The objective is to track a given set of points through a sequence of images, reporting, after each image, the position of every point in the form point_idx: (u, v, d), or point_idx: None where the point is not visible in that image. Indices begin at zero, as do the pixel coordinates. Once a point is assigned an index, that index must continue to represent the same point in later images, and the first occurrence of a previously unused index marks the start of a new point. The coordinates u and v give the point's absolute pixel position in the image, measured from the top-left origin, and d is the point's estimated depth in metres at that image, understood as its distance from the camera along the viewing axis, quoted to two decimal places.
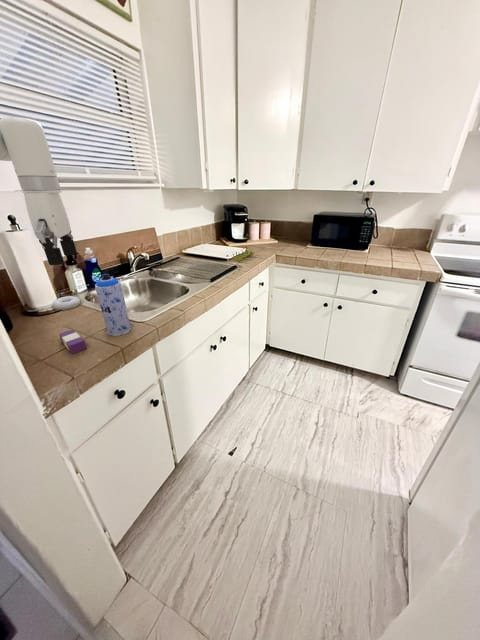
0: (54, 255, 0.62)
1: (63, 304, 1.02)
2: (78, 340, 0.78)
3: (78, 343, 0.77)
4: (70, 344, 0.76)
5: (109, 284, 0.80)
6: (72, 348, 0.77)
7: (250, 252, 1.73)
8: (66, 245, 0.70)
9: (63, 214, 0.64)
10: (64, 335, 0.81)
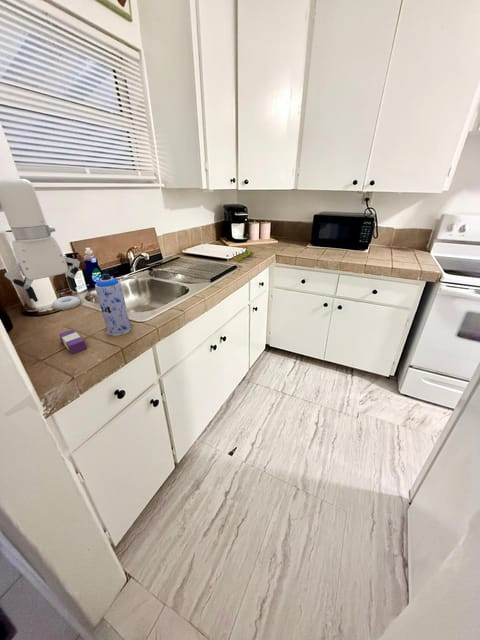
0: (27, 293, 0.69)
1: (63, 304, 1.02)
2: (78, 340, 0.78)
3: (78, 343, 0.77)
4: (70, 344, 0.76)
5: (109, 284, 0.80)
6: (72, 348, 0.77)
7: (250, 252, 1.73)
8: (69, 282, 0.76)
9: (49, 258, 0.69)
10: (64, 335, 0.81)
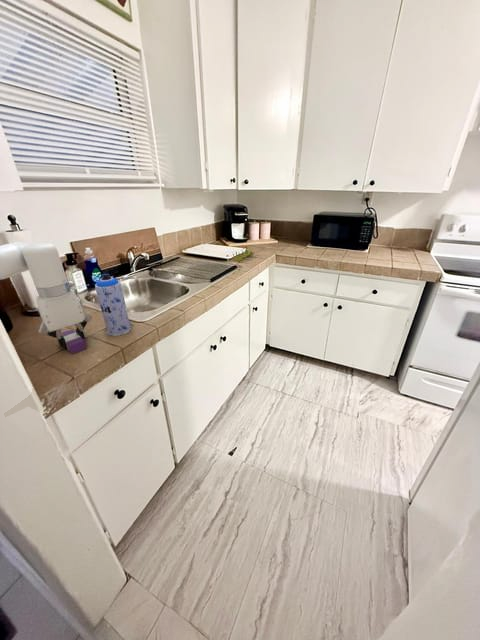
0: (59, 342, 0.78)
1: None
2: (78, 340, 0.78)
3: (78, 343, 0.77)
4: (70, 344, 0.76)
5: (109, 284, 0.80)
6: (72, 348, 0.77)
7: (250, 252, 1.73)
8: (78, 334, 0.81)
9: (69, 311, 0.75)
10: (64, 335, 0.81)
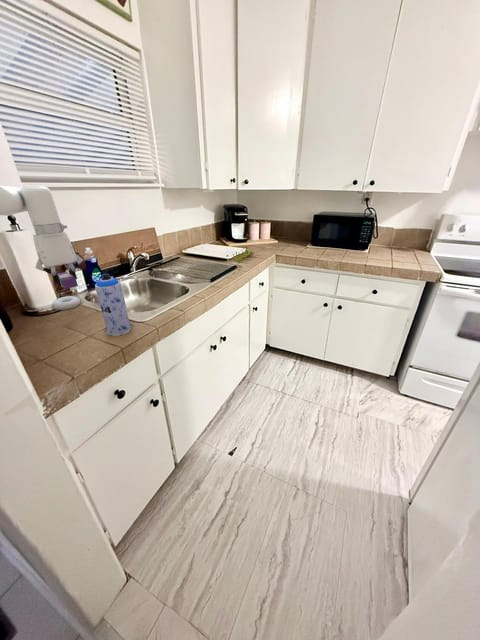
0: (54, 279, 0.88)
1: (63, 304, 1.02)
2: (70, 277, 0.89)
3: (70, 279, 0.88)
4: (63, 280, 0.87)
5: (109, 284, 0.80)
6: (65, 283, 0.87)
7: (250, 252, 1.73)
8: None
9: (62, 249, 0.86)
10: (58, 275, 0.91)
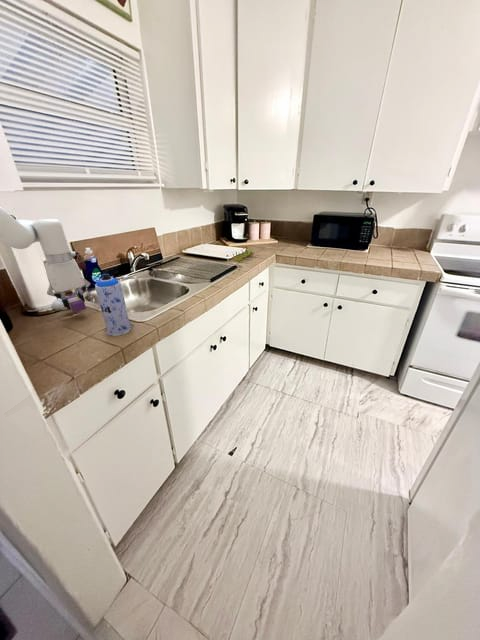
0: (63, 303, 0.94)
1: None
2: (79, 301, 0.94)
3: (79, 303, 0.93)
4: (72, 304, 0.92)
5: (109, 284, 0.80)
6: (74, 307, 0.93)
7: (250, 252, 1.73)
8: (79, 297, 0.98)
9: (71, 276, 0.91)
10: (67, 298, 0.97)
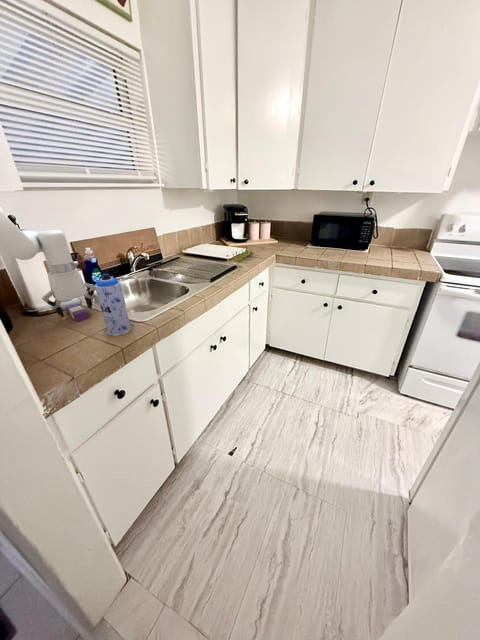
0: (57, 311, 0.93)
1: (63, 304, 1.02)
2: (82, 311, 0.96)
3: (82, 313, 0.95)
4: (75, 313, 0.94)
5: (109, 284, 0.80)
6: (77, 317, 0.94)
7: (250, 252, 1.73)
8: (86, 301, 1.00)
9: (74, 285, 0.93)
10: (70, 308, 0.98)
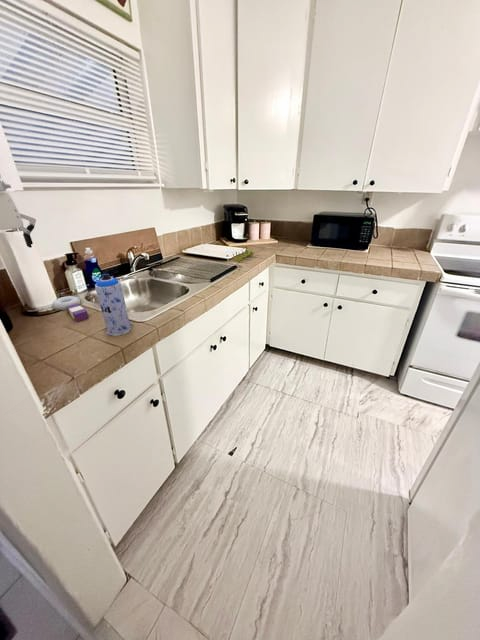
0: None
1: (63, 304, 1.02)
2: (82, 311, 0.96)
3: (82, 313, 0.95)
4: (75, 313, 0.94)
5: (109, 284, 0.80)
6: (77, 317, 0.94)
7: (250, 252, 1.73)
8: (25, 238, 0.82)
9: (4, 212, 0.75)
10: (70, 308, 0.98)
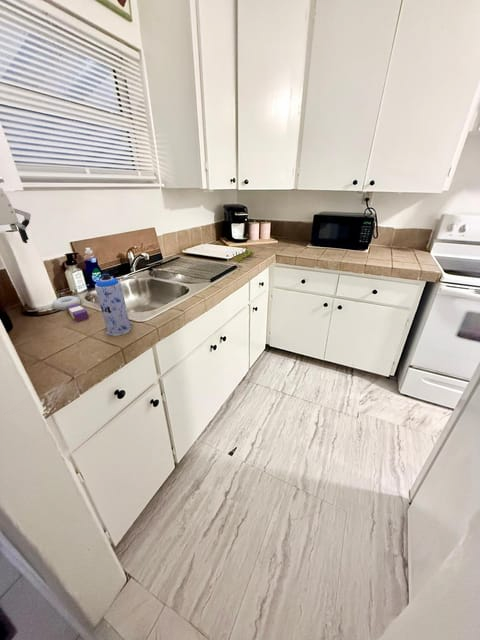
0: None
1: (63, 304, 1.02)
2: (82, 311, 0.96)
3: (82, 313, 0.95)
4: (75, 313, 0.94)
5: (109, 284, 0.80)
6: (77, 317, 0.94)
7: (250, 252, 1.73)
8: (20, 233, 0.81)
9: None
10: (70, 308, 0.98)
